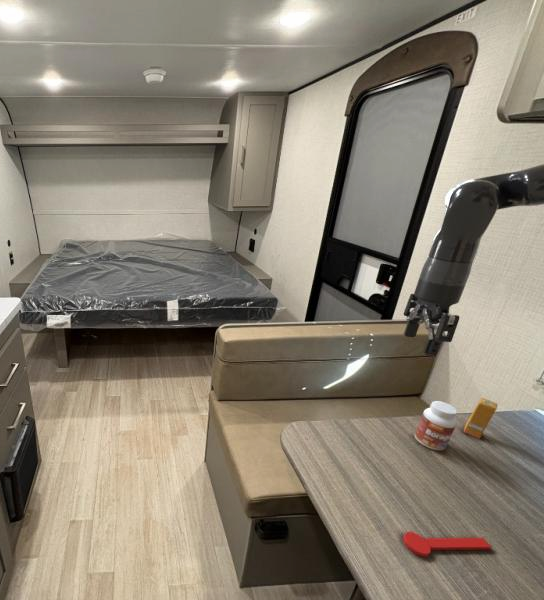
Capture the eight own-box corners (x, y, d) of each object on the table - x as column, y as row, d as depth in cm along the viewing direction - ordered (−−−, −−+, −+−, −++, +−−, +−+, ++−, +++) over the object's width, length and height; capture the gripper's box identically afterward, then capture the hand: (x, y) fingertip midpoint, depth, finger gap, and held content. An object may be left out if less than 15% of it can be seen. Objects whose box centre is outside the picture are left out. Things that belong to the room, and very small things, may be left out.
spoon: (476, 534, 60) (477, 531, 60) (496, 556, 57) (498, 553, 56) (398, 534, 60) (399, 531, 60) (414, 556, 57) (415, 554, 56)
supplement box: (481, 440, 81) (497, 409, 78) (463, 432, 84) (477, 401, 80) (482, 433, 84) (498, 402, 80) (464, 426, 86) (479, 396, 82)
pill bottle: (418, 447, 79) (433, 411, 75) (410, 429, 85) (423, 396, 81) (450, 454, 77) (467, 418, 73) (439, 436, 83) (454, 402, 79)
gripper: (488, 291, 61) (457, 363, 67) (442, 270, 74) (420, 332, 80) (442, 288, 63) (416, 358, 69) (405, 268, 75) (386, 329, 81)
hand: (418, 344), depth 74 cm, fingers open, 8 cm apart
